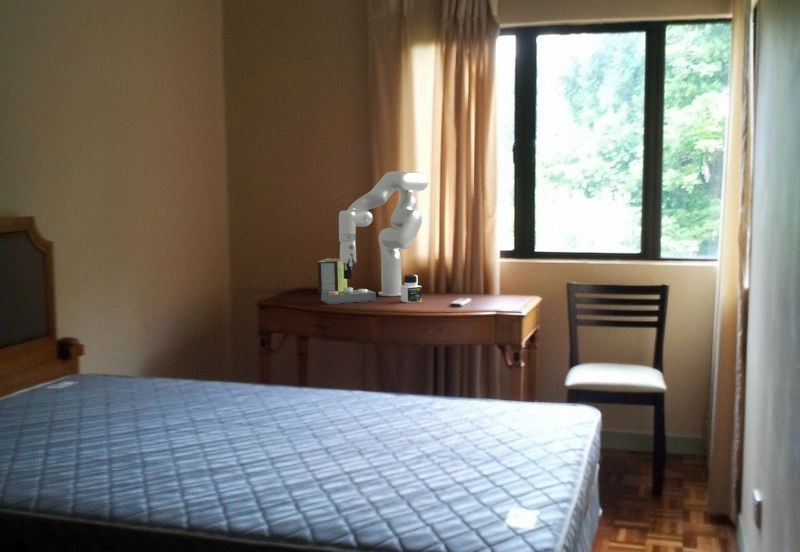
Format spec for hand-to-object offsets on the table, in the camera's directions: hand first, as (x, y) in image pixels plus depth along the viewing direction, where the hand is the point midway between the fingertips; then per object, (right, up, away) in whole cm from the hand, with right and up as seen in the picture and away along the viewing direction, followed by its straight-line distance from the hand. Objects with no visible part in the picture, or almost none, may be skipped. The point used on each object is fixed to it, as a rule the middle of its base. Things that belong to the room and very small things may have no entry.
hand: (347, 278), depth 392 cm
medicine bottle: (+29, -10, -2) cm, 31 cm away
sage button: (0, -7, +1) cm, 8 cm away
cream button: (+7, -8, +4) cm, 11 cm away
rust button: (-6, -9, -1) cm, 11 cm away
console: (0, -10, +2) cm, 10 cm away
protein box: (-9, -7, +36) cm, 38 cm away
